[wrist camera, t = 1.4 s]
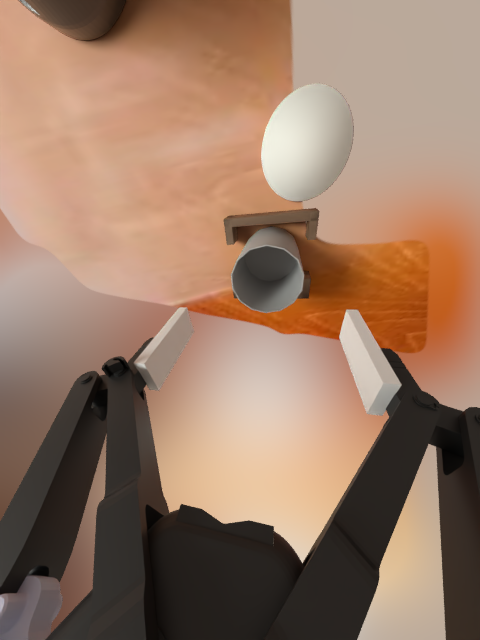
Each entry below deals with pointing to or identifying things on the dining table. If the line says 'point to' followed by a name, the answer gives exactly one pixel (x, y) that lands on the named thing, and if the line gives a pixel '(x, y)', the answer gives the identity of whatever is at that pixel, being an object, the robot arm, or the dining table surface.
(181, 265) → the dining table surface
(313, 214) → the pocket holder
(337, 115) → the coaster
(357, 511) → the robot arm
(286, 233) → the cup
